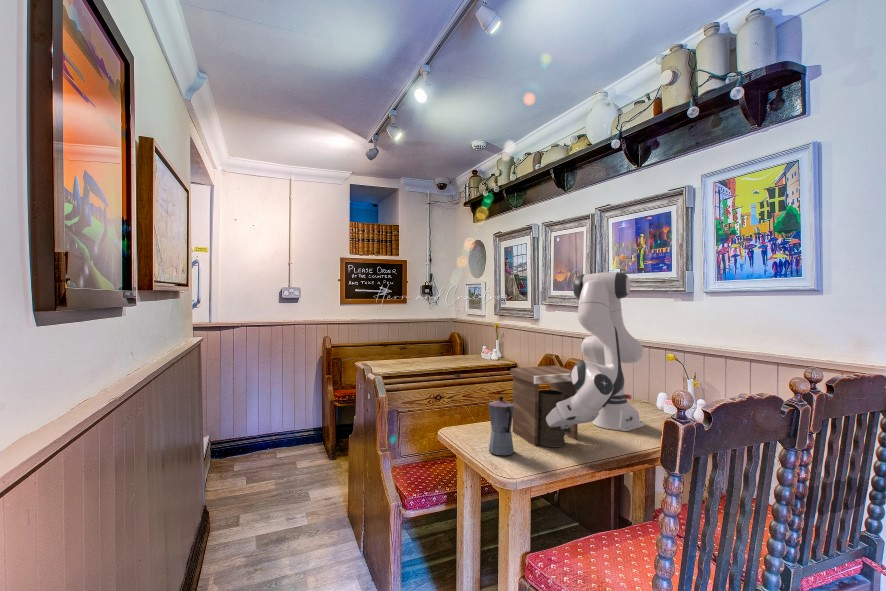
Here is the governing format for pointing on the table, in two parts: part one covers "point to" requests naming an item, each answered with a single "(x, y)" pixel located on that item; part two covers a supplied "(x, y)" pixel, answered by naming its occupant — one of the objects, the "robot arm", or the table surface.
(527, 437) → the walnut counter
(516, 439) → the table surface
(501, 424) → the moka pot
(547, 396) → the beer stein
